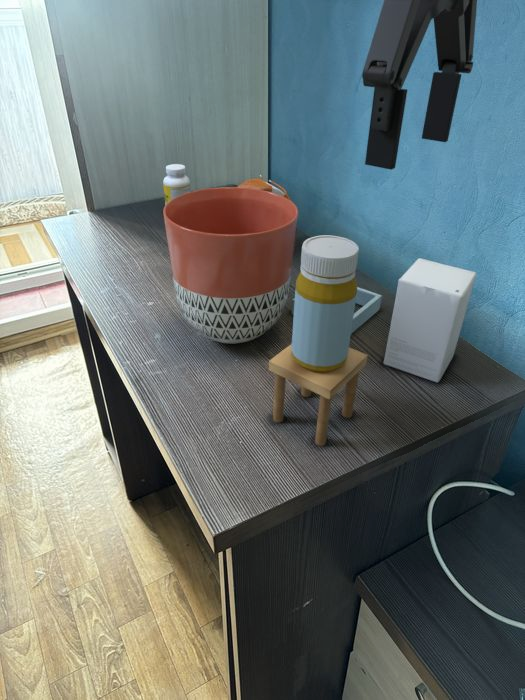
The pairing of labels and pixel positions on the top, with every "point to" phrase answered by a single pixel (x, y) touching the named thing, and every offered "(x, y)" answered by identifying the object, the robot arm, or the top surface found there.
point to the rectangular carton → (428, 318)
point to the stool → (317, 385)
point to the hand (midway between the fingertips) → (409, 152)
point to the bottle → (324, 303)
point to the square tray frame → (369, 308)
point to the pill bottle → (175, 182)
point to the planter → (231, 259)
